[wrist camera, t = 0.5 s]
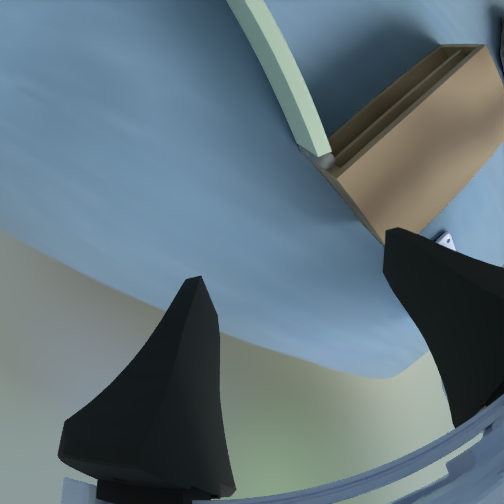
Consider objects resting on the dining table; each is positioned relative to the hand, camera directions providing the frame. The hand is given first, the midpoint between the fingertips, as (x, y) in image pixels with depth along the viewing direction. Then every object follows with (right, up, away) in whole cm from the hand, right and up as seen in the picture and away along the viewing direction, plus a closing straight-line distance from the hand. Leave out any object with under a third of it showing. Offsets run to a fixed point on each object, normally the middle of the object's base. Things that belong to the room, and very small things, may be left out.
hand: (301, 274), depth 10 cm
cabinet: (+10, +10, +7) cm, 16 cm away
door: (-2, +13, +3) cm, 13 cm away
